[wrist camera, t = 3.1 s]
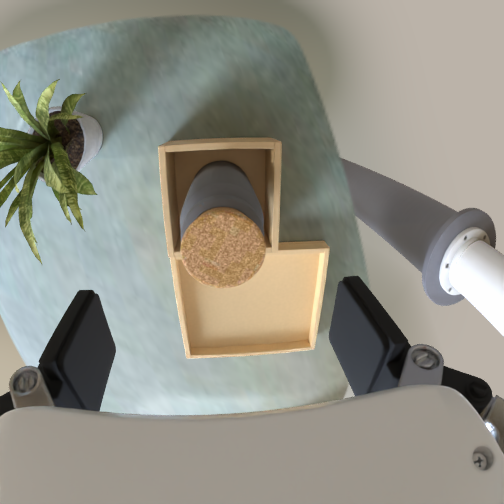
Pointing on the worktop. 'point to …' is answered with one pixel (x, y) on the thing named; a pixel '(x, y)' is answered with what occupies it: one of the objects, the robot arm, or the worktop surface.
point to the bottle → (222, 227)
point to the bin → (220, 149)
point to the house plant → (48, 155)
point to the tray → (255, 305)
